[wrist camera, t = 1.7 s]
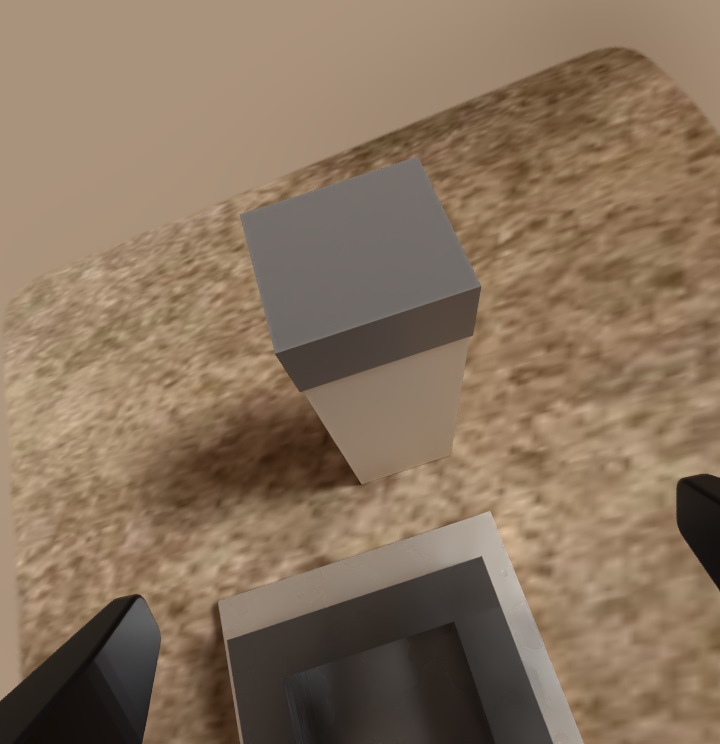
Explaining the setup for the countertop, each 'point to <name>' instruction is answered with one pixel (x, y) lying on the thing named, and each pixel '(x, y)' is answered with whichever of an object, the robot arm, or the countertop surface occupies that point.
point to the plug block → (370, 312)
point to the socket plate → (396, 650)
